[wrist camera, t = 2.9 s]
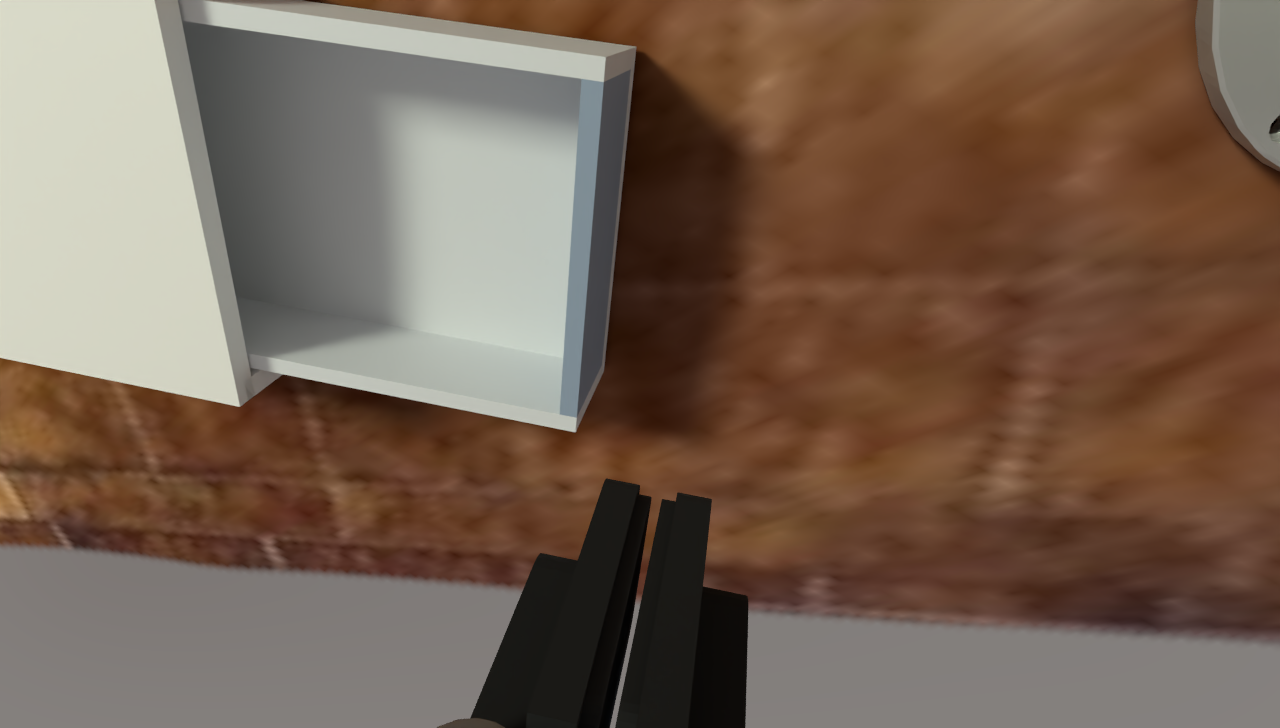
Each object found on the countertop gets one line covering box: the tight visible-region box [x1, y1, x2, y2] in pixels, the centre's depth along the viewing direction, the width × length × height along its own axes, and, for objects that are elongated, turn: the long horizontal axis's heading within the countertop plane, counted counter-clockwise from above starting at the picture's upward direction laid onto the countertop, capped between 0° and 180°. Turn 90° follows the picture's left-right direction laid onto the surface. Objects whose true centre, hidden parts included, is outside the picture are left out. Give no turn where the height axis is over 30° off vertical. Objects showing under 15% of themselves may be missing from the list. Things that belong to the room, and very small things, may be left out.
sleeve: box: [0, 0, 283, 407], centre depth 24 cm, size 14×14×6 cm
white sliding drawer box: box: [178, 0, 636, 432], centre depth 23 cm, size 24×12×4 cm, turn 83°
